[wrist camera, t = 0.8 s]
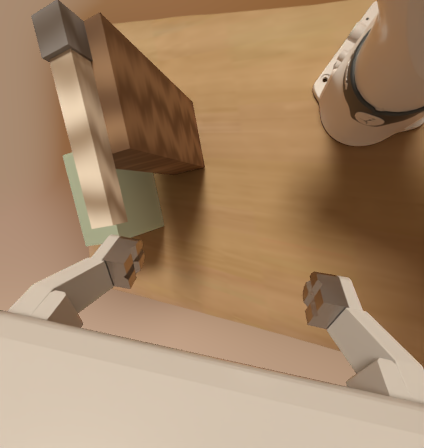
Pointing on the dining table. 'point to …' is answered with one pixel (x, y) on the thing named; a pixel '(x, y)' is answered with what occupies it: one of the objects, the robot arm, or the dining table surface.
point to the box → (132, 198)
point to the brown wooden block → (141, 106)
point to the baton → (81, 111)
